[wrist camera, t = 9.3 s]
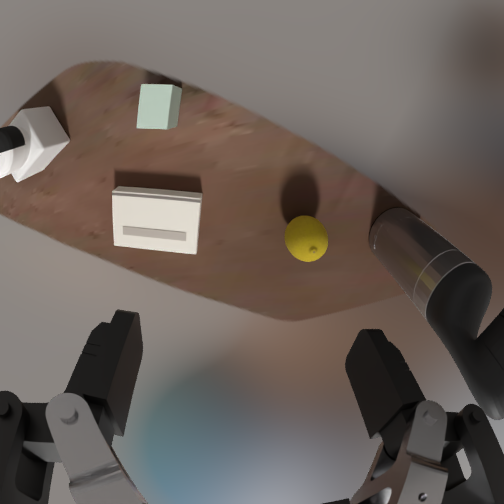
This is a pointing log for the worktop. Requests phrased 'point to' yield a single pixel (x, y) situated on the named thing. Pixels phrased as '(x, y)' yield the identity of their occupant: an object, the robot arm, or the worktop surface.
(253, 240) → the worktop surface
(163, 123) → the pale green block
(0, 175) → the medicine bottle
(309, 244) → the lemon
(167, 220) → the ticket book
